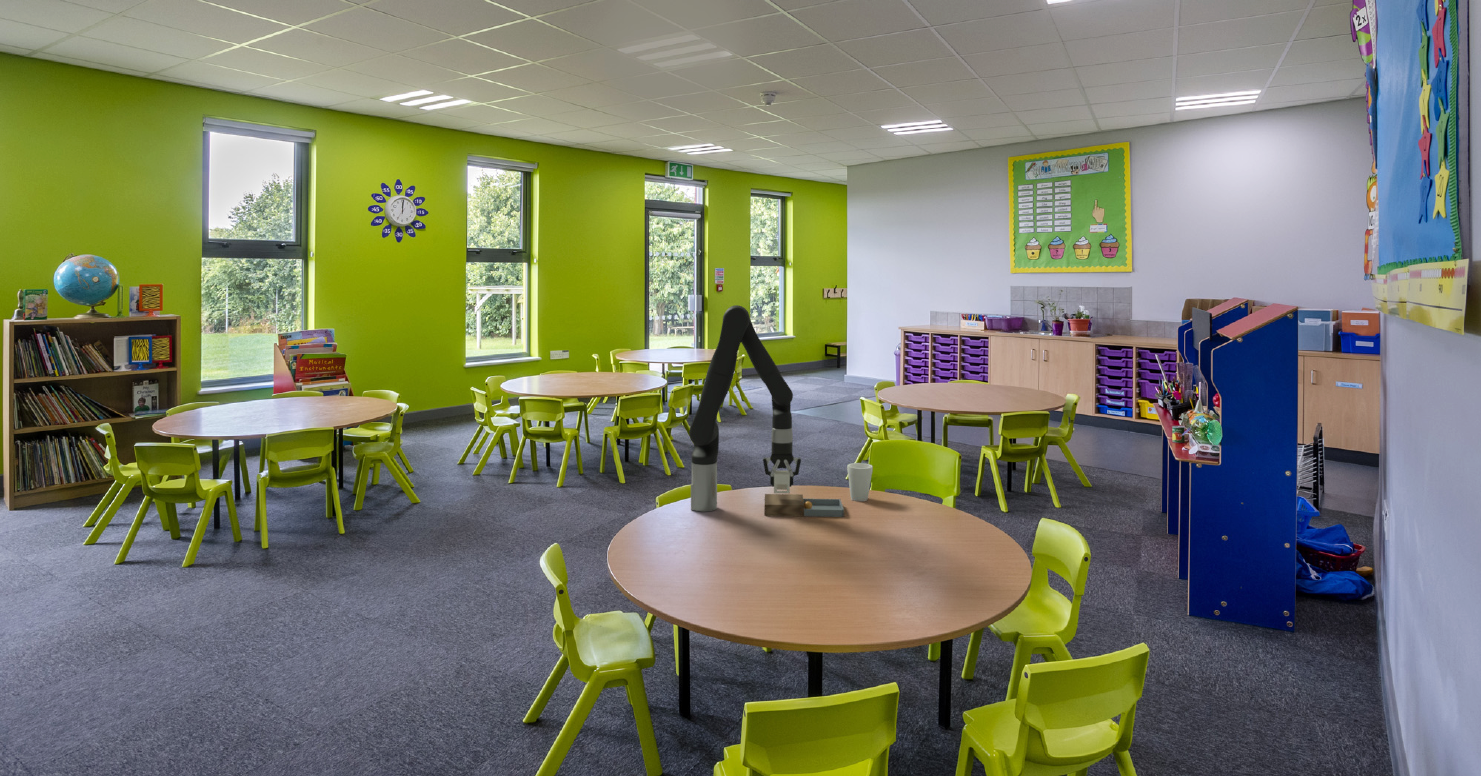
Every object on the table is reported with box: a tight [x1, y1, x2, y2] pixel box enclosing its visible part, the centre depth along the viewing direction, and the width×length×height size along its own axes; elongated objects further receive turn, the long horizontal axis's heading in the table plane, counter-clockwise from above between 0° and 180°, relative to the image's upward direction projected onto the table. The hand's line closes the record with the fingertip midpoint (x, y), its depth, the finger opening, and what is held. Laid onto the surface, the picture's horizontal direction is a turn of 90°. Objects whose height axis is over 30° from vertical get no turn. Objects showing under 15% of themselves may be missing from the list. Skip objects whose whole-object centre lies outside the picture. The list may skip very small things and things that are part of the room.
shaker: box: [773, 470, 791, 494], centre depth 280 cm, size 6×6×7 cm
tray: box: [803, 498, 845, 518], centre depth 281 cm, size 14×14×2 cm
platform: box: [763, 493, 805, 517], centre depth 282 cm, size 14×14×4 cm
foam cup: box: [846, 462, 874, 502], centre depth 296 cm, size 10×9×13 cm
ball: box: [804, 501, 812, 509], centre depth 281 cm, size 3×3×3 cm
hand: (781, 485), depth 281 cm, fingers closed on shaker, 5 cm apart
